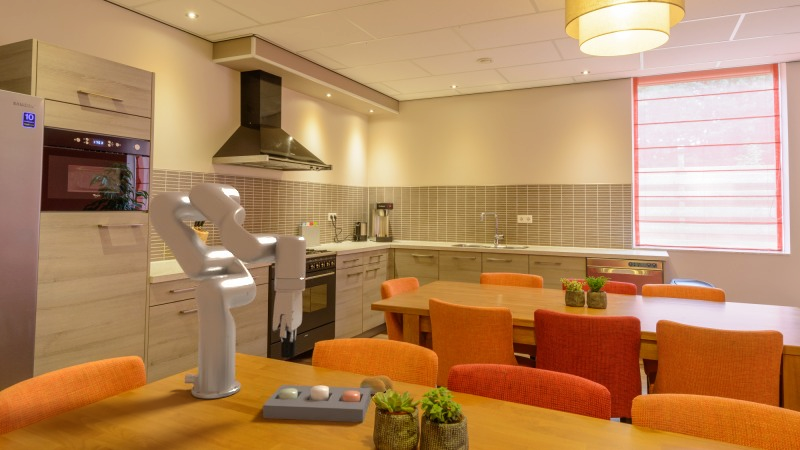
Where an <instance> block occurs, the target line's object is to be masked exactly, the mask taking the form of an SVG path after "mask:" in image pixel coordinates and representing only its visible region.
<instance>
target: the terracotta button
mask: <svg viewBox="0 0 800 450" xmlns="http://www.w3.org/2000/svg"><path fill="white" fill-rule="evenodd" d="M342 401H344V402H360V392H358V391H345V392H343V394H342Z"/></svg>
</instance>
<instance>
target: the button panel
mask: <svg viewBox="0 0 800 450" xmlns="http://www.w3.org/2000/svg"><path fill="white" fill-rule="evenodd" d="M314 386H315V385H314ZM314 386H313V385H293V384H291V385H289V384H282V385H280V386H279V387H278V389H277V390H275V392H274V393H273V394H272V395H271V396H270V397H269V399H267V400H266V402H265V403H263V405H262V418H264V419H279V420H280V419H282V420H283V419H285V420H300V421H301V420H306V421H327V422H329V421H330V422H347V423H348V422H353V423H363V422H364V420H365V417H366V413H367V411H368V408H369V405H370V402H371V388H360V387H346V386H345V387H343V386H340V387H339V386H328V387H329V400H328V401H319V400H311V388H312V387H314ZM287 388H294V389H297V391H298V392H297V399H296V400H294V399H280V391H281V390H283V389H287ZM345 391H358V392H360V402H344V401H342V394H343V392H345Z"/></svg>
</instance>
